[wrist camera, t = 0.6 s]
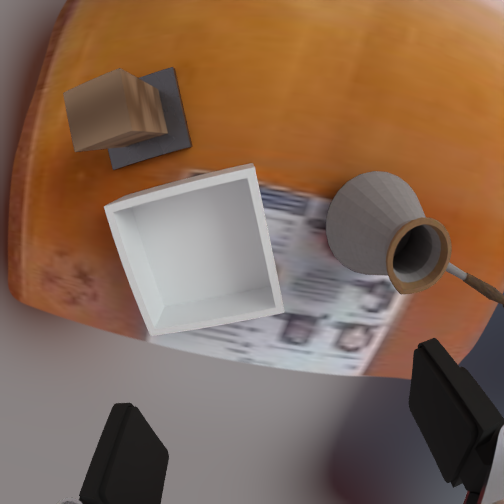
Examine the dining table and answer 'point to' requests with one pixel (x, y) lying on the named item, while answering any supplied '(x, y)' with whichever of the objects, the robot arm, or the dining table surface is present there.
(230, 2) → the dining table surface
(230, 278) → the grey bin
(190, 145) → the stud plate
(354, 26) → the dining table surface
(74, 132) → the walnut post
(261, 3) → the dining table surface
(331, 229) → the coffee pot
